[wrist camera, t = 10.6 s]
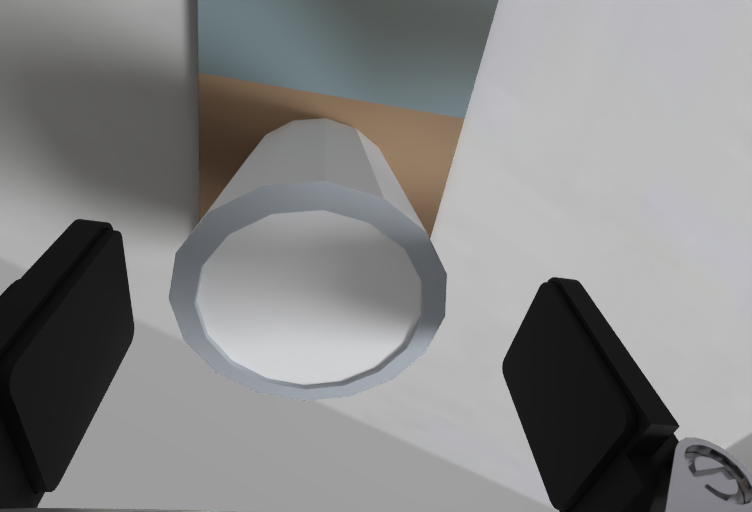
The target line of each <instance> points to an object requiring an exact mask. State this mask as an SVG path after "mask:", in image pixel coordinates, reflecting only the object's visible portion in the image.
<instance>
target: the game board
mask: <svg viewBox="0 0 752 512" xmlns="http://www.w3.org/2000/svg"><path fill="white" fill-rule="evenodd" d="M497 3H498V0H198V84H199V171H200V220H201V219H202V218H203V217H204V215H205V214H206V213H207V211H208V210H209V209H210V207H211V206H212V205H213V203H214V202H215V201H216V199H217V198H218V197H219V195H220V194H221V193H222V191H223V190H224V189H225V187H226V186H227V185H228V183H229V182H230V181H231V179H232V178H233V177H234V175H235V174H236V173H237V171H238V170H239V169H240V167H241V166H242V165H243V163H244V162H245V161H246V159H247V158H248V157H249V155H250V154H251V153H252V152H253V150H254V149H255V148H256V147H257V145H258V144H259V143H260V141H261V140H262V139H263V138H264V136H265V135H266V134H268V133H270V132H272V131H274V130H276V129H278V128H280V127H282V126H284V125H286V124H287V123H289V122H291V121H293V120H306V119H320V118H327V119H330V120H333V121H336V122H339V123H342V124H345V125H348V126H351V127H354V128H356V129H357V130H359V131H360V132H361V133H362V134H363V135H364V136H366V137H367V138H368V139H369V140H370V141H371V142H373V143H374V144H375V145H376V146H377V147H378V148H379V149H380V151H381V153H382V154H383V156H384V158H385V160H386V161H387V163H388V165H389V167H390V168H391V170H392V172H393V174H394V175H395V177H396V179H397V181H398V183H399V184H400V186H401V188H402V190H403V191H404V193H405V195H406V197H407V198H408V200H409V202H410V204H411V205H412V207H413V209H414V211H415V213H416V214H417V216H418V218H419V220H420V221H421V223H422V225H423V227H424V228H425V230H426V232H427V234H428V236H429V238H430V237H431V233H432V230H433V226H434V223H435V219H436V216H437V212H438V209H439V205H440V202H441V198H442V195H443V192H444V188H445V185H446V181H447V178H448V174H449V171H450V167H451V164H452V160H453V157H454V153H455V150H456V146H457V143H458V139H459V136H460V132H461V129H462V125H463V122H464V118H465V115H466V111H467V108H468V104H469V101H470V97H471V94H472V90H473V87H474V83H475V80H476V76H477V73H478V69H479V66H480V63H481V59H482V56H483V52H484V49H485V45H486V42H487V38H488V35H489V31H490V28H491V24H492V21H493V17H494V14H495V10H496V7H497Z"/></svg>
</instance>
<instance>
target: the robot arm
mask: <svg viewBox="0 0 752 512" xmlns="http://www.w3.org/2000/svg"><path fill="white" fill-rule="evenodd" d="M133 335H134V321H133V314H132V307H131V299H130V292H129V284H128V277H127V270H126V262H125V255H124V248H123V240H122V235H121V233H120V232H119V231H115V230H113V228H112V226H111V224H110V223H107V222H99V221H91V220H83V219H77V220H75V221H74V222H73V223H72V224H71V225H70V226H69V227H68V228H67V229H66V230H65V231H64V232H63V234H62V235H61V236H60V237H59V238H58V239H57V240H56V241H55V242H54V243H53V244H52V245H51V246H50V247H49V249H48V250H47V251H46V252H45V253H44V254H43V255H42V256H41V257H40V258H39V259H38V260H37V261H36V263H35V264H34V265H33V266H32V267H31V268H30V269H29V270H28V271H27V272H26V273H25V274H24V275H23V277H22V278H21V279H19V280H16V281H15V282H14V283H13V284H11V285H10V286H9V287H8V288H7V289H6V290H5V291H4V292H3V293H2V295H1V296H0V512H229V511H192V510H155V509H154V510H153V509H152V510H151V509H77V508H74V509H72V508H70V509H69V508H37V506H38V504H39V502H40V500H41V498H42V497H43V495H44V493H45V492H52V491H54V490H55V488H56V487H57V486H58V484H59V483H60V481H61V479H62V477H63V475H64V473H65V471H66V469H67V467H68V465H69V463H70V461H71V460H72V458H73V455H74V454H75V451H76V450H77V448H78V446H79V444H80V442H81V440H82V438H83V436H84V434H85V432H86V430H87V428H88V426H89V424H90V422H91V421H92V419H93V417H94V415H95V413H96V411H97V409H98V407H99V405H100V402H101V401H102V399H103V397H104V395H105V393H106V391H107V389H108V387H109V385H110V383H111V382H112V379H113V378H114V376H115V374H116V372H117V370H118V368H119V366H120V364H121V362H122V360H123V358H124V356H125V354H126V352H127V350H128V348H129V346H130V344H131V342H132V339H133ZM502 370H503V375H504V378H505V381H506V383H507V386H508V389H509V391H510V394H511V397H512V400H513V402H514V405H515V408H516V410H517V413H518V416H519V418H520V421H521V424H522V426H523V429H524V432H525V434H526V437H527V440H528V443H529V445H530V448H531V451H532V453H533V456H534V459H535V461H536V464H537V467H538V469H539V472H540V475H541V477H542V480H543V483H544V486H545V488H546V491H547V494H548V496H549V499H550V501H551V503H552V505H553V507H554V508H555V509H557V510H559V511H560V512H752V474H751V473H750V472H749V471H748V470H747V468H746V467H745V466H744V465H743V464H742V463H740V462H739V461H738V460H737V459H736V458H735V457H734V456H733V455H731V454H729V453H728V452H727V451H725V450H724V449H722V448H721V447H719V446H717V445H715V444H713V443H711V442H709V441H707V440H703V439H699V438H684V439H682V440H680V441H678V439H677V438H676V436H675V435H674V432H675V431H676V430H677V429H678V427H679V425H678V423H677V422H676V420H675V419H674V417H673V416H672V415H671V413H670V412H669V410H668V409H667V407H666V406H665V404H664V403H663V402H662V400H661V399H660V397H659V396H658V394H657V393H656V391H655V390H654V389H653V387H652V386H651V384H650V383H649V381H648V380H647V378H646V377H645V376H644V374H643V373H642V371H641V370H640V368H639V367H638V365H637V364H636V363H635V361H634V360H633V358H632V357H631V355H630V354H629V352H628V351H627V350H626V348H625V347H624V345H623V344H622V342H621V341H620V339H619V338H618V337H617V335H616V334H615V332H614V331H613V329H612V328H611V326H610V325H609V324H608V322H607V321H606V319H605V318H604V316H603V315H602V313H601V312H600V311H599V309H598V308H597V306H596V305H595V303H594V302H593V300H592V299H591V298H590V296H589V295H588V293H587V292H586V290H585V289H584V287H583V286H582V285H581V283H580V282H579V281H577V280H573V279H564V278H556V277H554V278H551V279H550V280H548V282H545V283H543V284H541V286H540V287H539V289H538V291H537V294H536V296H535V298H534V300H533V302H532V304H531V306H530V308H529V310H528V312H527V314H526V316H525V318H524V320H523V322H522V324H521V326H520V328H519V330H518V332H517V334H516V336H515V338H514V340H513V342H512V344H511V346H510V348H509V350H508V352H507V354H506V356H505V358H504V361H503V367H502ZM230 512H231V511H230ZM232 512H234V511H232Z"/></svg>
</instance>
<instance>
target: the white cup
mask: <svg viewBox="0 0 752 512" xmlns="http://www.w3.org/2000/svg"><path fill="white" fill-rule="evenodd" d="M446 279H447V274H446V272H445V270H444V268H443V265H442V263H441V261H440V259H439V257H438V255H437V253H436V251H435V249H434V247H433V245H432V242H431V240H430V238H429V236H428V234H427V232H426V230H425V228H424V227H423V225H422V223H421V221H420V220H419V218H418V216H417V214H416V213H415V211H414V209H413V207H412V205H411V204H410V202H409V200H408V198H407V197H406V195H405V193H404V191H403V190H402V188H401V186H400V184H399V183H398V181H397V179H396V177H395V175H394V174H393V172H392V170H391V168H390V167H389V165H388V163H387V161H386V160H385V158H384V156H383V154H382V153H381V151H380V149H379V148H378V147H377V146H376V145H375V144H374V143H373V142H371V141H370V140H369V139H368V138H367V137H366V136H364V135H363V134H362V133H361V132H360V131H359V130H357V129H356V128H354V127H351V126H348V125H345V124H342V123H339V122H336V121H333V120H330V119H327V118H320V119H306V120H293V121H291V122H289V123H287V124H286V125H284V126H282V127H280V128H278V129H276V130H274V131H272V132H270V133H268V134H266V135H265V136H264V138H263V139H262V140H261V141H260V143H259V144H258V145H257V147H256V148H255V149H254V150H253V152H252V153H251V154H250V155H249V157H248V158H247V159H246V161H245V162H244V163H243V165H242V166H241V167H240V169H239V170H238V171H237V173H236V174H235V175H234V177H233V178H232V179H231V181H230V182H229V183H228V185H227V186H226V187H225V189H224V190H223V191H222V193H221V194H220V195H219V197H218V198H217V199H216V201H215V202H214V203H213V205H212V206H211V207H210V209H209V210H208V211H207V213H206V214H205V215H204V217H203V218H202V219H201V220H200V222H199V223H198V224H197V226H196V227H195V228H194V230H193V231H192V232H191V234H190V235H189V236H188V238H187V239H186V240H185V242H184V243H183V244H182V246H181V247H180V248H179V250H178V251H177V252H176V256H175V262H174V269H173V275H172V281H171V288H170V294H169V301H170V303H171V306H172V309H173V311H174V314H175V317H176V320H177V322H178V325H179V328H180V331H181V333H182V336H183V339H184V341H185V342H186V343H187V344H188V345H189V346H190V347H191V348H192V349H193V350H194V351H195V352H196V353H197V354H198V355H199V356H200V357H201V358H202V359H203V360H204V361H205V362H206V363H207V364H208V365H209V366H210V367H211V368H212V369H213V370H214V371H215V372H216V373H218V374H220V375H222V376H224V377H226V378H228V379H230V380H232V381H235V382H237V383H239V384H241V385H243V386H245V387H247V388H249V389H251V390H253V391H255V392H257V393H262V394H269V395H274V396H280V397H286V398H292V399H297V400H303V401H305V400H315V399H325V398H335V397H346V396H351V395H354V394H357V393H359V392H362V391H364V390H367V389H369V388H372V387H374V386H377V385H380V384H382V383H385V382H387V381H390V380H392V379H393V378H394V377H396V376H397V375H398V374H399V373H401V372H402V371H403V370H404V369H405V368H407V367H408V366H409V365H410V364H412V363H413V362H414V361H415V360H416V359H418V358H419V357H420V356H421V355H423V354H424V353H425V352H426V350H427V348H428V346H429V344H430V342H431V341H432V339H433V337H434V335H435V333H436V331H437V330H438V328H439V326H440V324H441V322H442V321H443V319H444V317H445V302H446Z"/></svg>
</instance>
